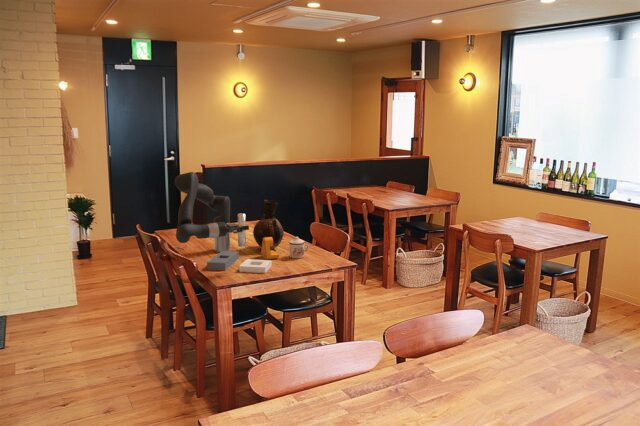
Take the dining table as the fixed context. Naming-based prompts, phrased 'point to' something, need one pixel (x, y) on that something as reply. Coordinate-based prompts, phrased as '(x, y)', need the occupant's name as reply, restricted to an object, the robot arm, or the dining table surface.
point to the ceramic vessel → (268, 226)
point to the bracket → (268, 249)
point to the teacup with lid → (297, 248)
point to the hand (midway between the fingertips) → (246, 226)
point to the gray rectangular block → (222, 260)
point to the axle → (243, 234)
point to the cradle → (255, 266)
